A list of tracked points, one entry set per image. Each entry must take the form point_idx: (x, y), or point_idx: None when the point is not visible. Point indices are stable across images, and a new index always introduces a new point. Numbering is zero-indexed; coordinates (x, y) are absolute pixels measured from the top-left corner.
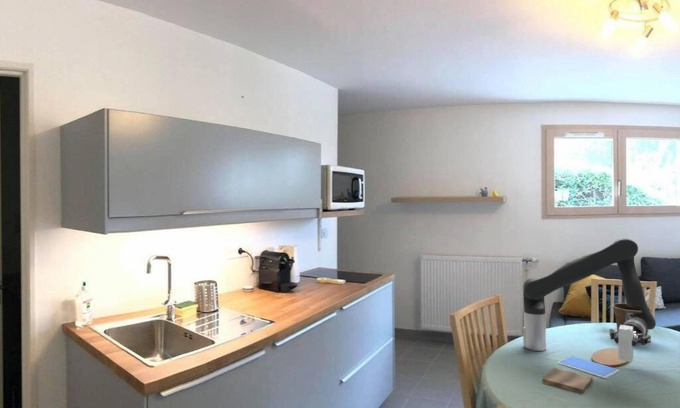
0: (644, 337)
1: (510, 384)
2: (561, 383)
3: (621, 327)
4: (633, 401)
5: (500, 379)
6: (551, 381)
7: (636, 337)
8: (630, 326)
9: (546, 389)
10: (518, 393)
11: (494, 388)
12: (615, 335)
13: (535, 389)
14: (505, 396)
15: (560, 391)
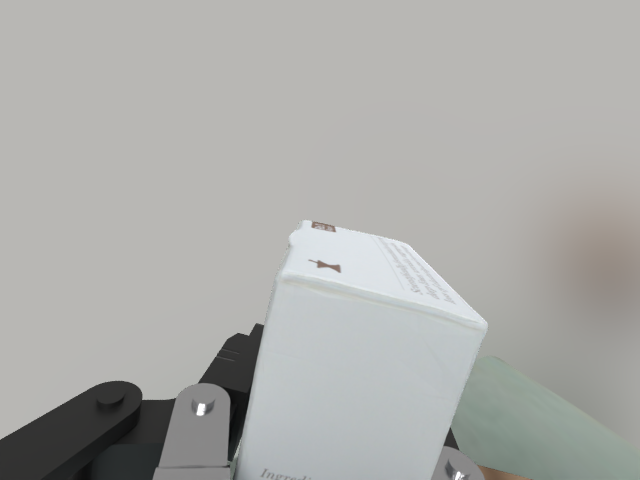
0: (31, 451)
1: (573, 437)
2: (487, 470)
3: (405, 254)
4: (233, 467)
5: (624, 461)
6: (522, 478)
7: (207, 389)
8: (320, 264)
9: (494, 444)
10: (510, 395)
11: (561, 401)
12: (471, 474)
13: (510, 431)
14: (510, 375)
15: (460, 446)
